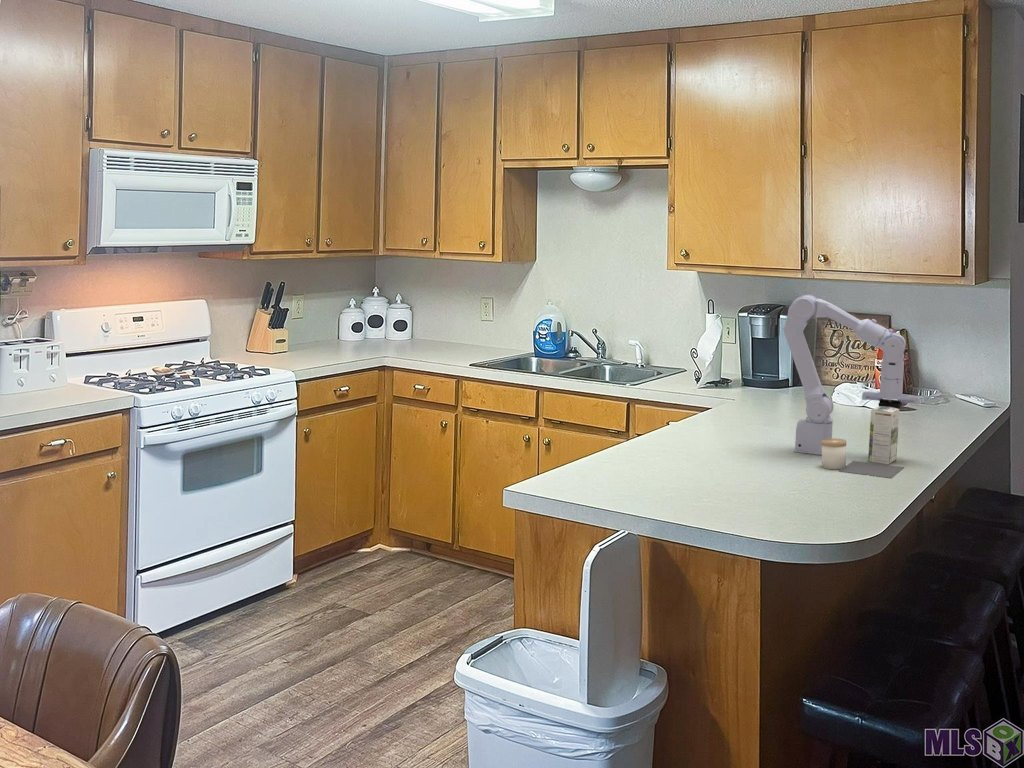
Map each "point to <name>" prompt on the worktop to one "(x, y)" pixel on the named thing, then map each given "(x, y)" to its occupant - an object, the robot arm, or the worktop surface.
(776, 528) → the worktop surface
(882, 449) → the syrup box
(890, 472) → the mat
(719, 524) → the worktop surface
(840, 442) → the canister
